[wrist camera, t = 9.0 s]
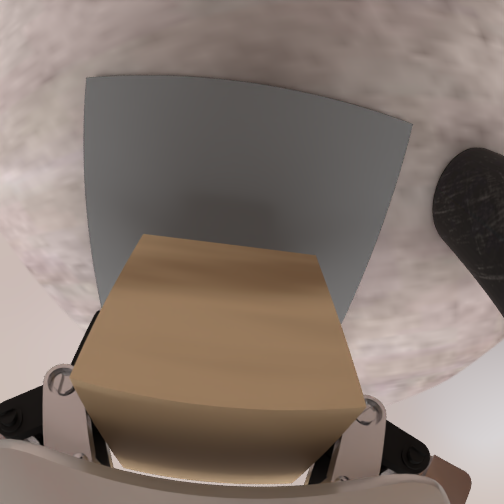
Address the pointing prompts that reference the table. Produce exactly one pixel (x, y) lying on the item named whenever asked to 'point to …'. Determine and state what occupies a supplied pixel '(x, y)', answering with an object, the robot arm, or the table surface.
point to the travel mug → (475, 216)
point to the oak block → (218, 364)
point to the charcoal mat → (236, 172)
